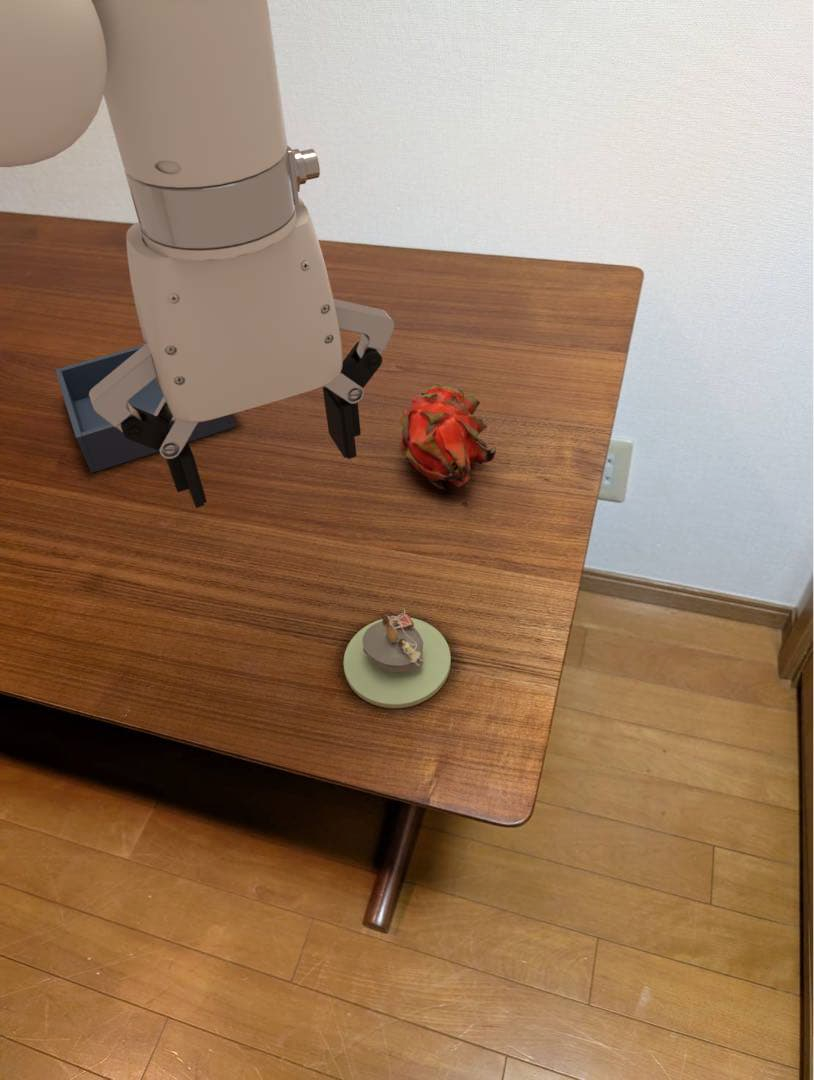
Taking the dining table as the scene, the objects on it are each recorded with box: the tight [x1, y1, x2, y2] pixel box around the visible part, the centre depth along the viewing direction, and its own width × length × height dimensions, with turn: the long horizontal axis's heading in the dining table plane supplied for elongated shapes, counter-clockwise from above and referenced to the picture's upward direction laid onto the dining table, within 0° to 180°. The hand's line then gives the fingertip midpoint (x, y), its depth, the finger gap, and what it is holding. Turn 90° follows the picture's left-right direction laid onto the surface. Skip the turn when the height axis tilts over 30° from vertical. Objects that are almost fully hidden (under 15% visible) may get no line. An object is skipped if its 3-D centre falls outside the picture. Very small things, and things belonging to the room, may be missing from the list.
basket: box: [54, 343, 236, 474], centre depth 88 cm, size 15×13×5 cm
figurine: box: [362, 608, 424, 672], centre depth 63 cm, size 5×4×6 cm
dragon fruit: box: [399, 383, 497, 491], centre depth 79 cm, size 8×8×12 cm
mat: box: [343, 616, 452, 709], centre depth 65 cm, size 8×8×1 cm
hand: (271, 468), depth 52 cm, fingers open, 9 cm apart
